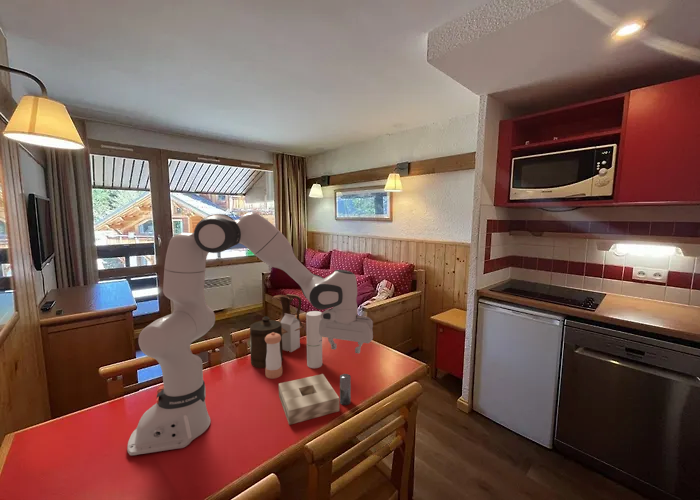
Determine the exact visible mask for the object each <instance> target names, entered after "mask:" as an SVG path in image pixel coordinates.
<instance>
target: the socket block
mask: <svg viewBox="0 0 700 500" xmlns="http://www.w3.org/2000/svg"><path fill="white" fill-rule="evenodd" d="M278 397H279V400H280V403H281V406H282V409H283V412H284V415H285V417H286V420H287V424H288V425H289V426H290V425H293V424H297V423H302V422H304V421H308V420H311V419H315V418H319V417H323V416H326V415H330V414H333V413H337V412H340V396H339V395H338V393H337V392H336V391H335V389H334V388H333V387H332V384H330V382H329V381H328V379H327V378H326V376H325V374H324V373H321V374H315V375H313V376H307V377H306V376H305V377H302V378H298V379H294V380H289V381H284V382H280V383H278Z"/></svg>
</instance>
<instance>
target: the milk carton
mask: <svg viewBox="0 0 700 500" xmlns="http://www.w3.org/2000/svg"><path fill="white" fill-rule="evenodd" d="M300 322H301V321H300ZM300 322H299V320H298V319H297V317H296V315H295V314H292V313H291V314H287V313H285V315H284V317H283V319H282V320H281V326H282V328H283V329H285V330H286V331H287V333H284V334H283V335H282V348H283V351H285V352H288V351H289V352H288V353H292V352H294V351H296V350H298V349H300V348H301V340H300V339H301V334H300V331H301V329H299V330H297V331H295V330H296V329H298V328H300Z"/></svg>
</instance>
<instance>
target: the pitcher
mask: <svg viewBox="0 0 700 500" xmlns="http://www.w3.org/2000/svg"><path fill="white" fill-rule="evenodd" d="M272 298H273V299H277V300H279V301H280V303H281V307H282V312H281V316H280V318H278V321H279V322H281V320H282V319H283V317H284V315H285V313H287V314H291V315H292V313H291V303H292V302H293V300H294V299H297V300H298V306H297V311H296V318H297V319H298V320H299V322H300V328H298V329H296V330H295V331H297V330H299V329H300V330H302V329H303V328H304V325H303V323H302V322H301V319H300V312H301V308H302V303H303V302H302V298H301V297H300V296H299V295H297V294H291V293H286V295H285V294H284V295H283V294H278V295H277V294H276V295H274V296H272ZM284 333H287V331H286V330H285V329H283V328H282V335H283V334H284Z"/></svg>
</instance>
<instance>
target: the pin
mask: <svg viewBox="0 0 700 500" xmlns="http://www.w3.org/2000/svg"><path fill="white" fill-rule="evenodd" d="M351 382H352V380H351V375H350V374H349V373H342V374H340V375H339V405H342V406H348V405H351V402H352V399H351V398H352V397H351V391H352V390H351V389H352V384H351Z"/></svg>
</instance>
